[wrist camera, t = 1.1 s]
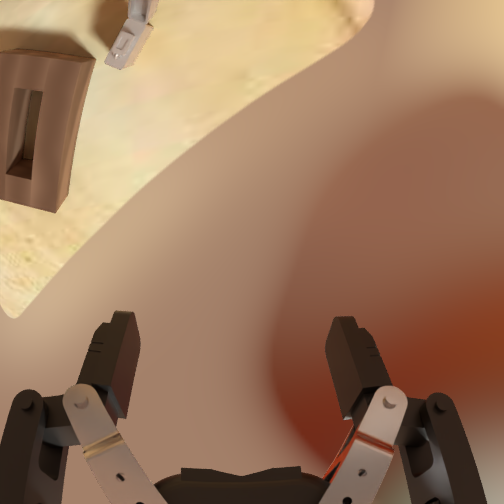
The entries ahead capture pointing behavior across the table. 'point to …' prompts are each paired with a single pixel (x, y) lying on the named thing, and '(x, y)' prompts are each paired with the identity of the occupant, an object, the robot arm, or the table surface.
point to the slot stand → (40, 124)
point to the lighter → (132, 34)
